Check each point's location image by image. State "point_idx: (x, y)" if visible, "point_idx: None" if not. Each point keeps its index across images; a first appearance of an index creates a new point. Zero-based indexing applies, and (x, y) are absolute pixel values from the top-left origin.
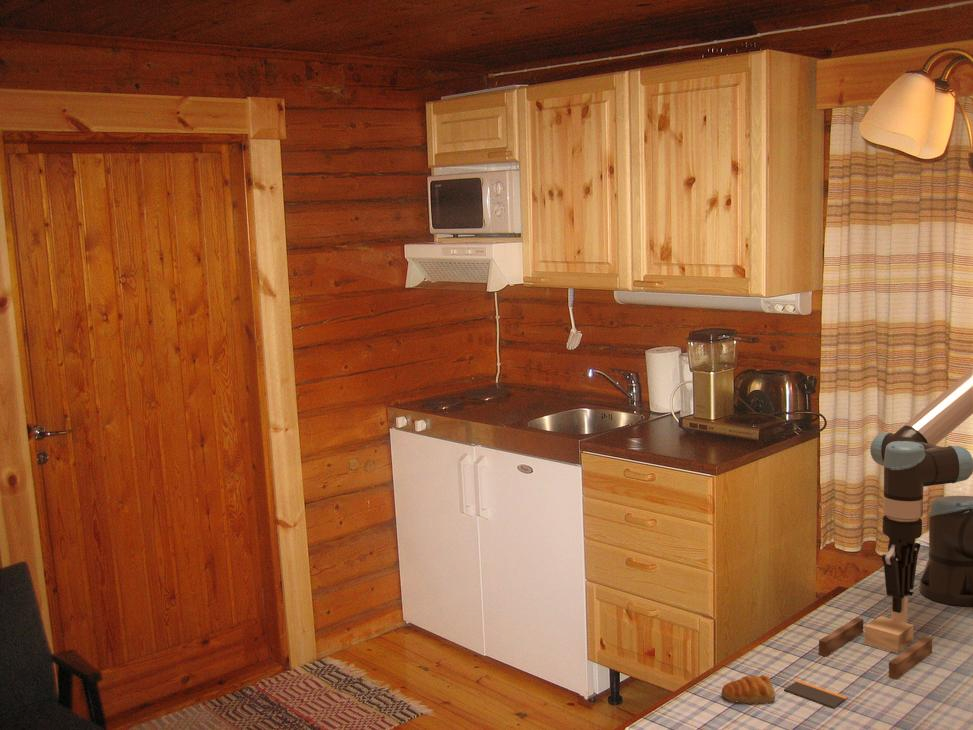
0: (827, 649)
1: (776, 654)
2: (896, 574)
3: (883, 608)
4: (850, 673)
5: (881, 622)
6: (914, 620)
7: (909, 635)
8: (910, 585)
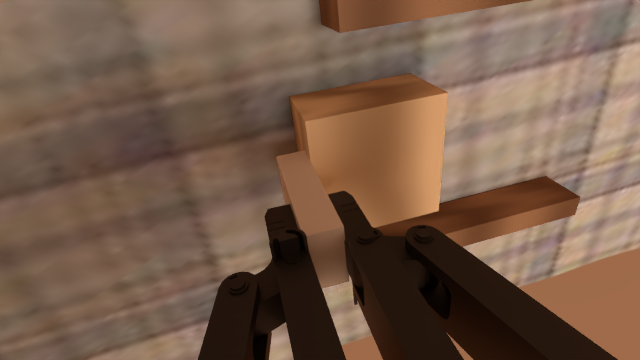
0: (552, 186)
1: (582, 236)
2: (592, 349)
3: (123, 319)
4: (613, 73)
5: (374, 203)
6: (104, 215)
7: (332, 102)
8: (256, 295)
